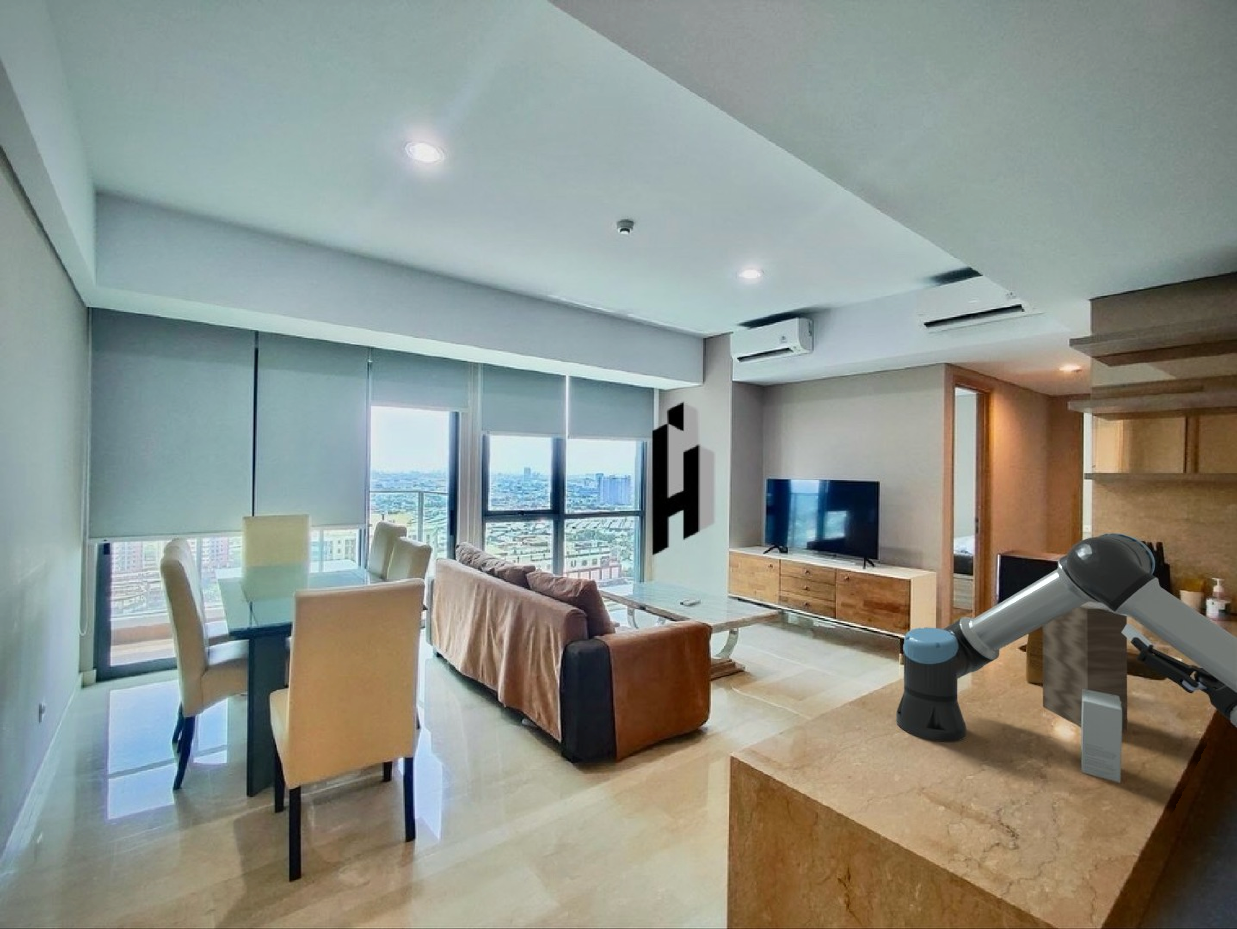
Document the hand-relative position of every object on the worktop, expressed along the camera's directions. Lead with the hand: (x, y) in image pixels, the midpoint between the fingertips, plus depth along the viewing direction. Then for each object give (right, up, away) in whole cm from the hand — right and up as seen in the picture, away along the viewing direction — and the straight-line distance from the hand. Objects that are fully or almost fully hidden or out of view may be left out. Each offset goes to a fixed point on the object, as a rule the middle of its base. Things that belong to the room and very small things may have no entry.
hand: (1154, 627), depth 126 cm
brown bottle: (+9, -29, +43) cm, 53 cm away
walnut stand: (-1, -29, +18) cm, 34 cm away
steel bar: (-1, +1, +14) cm, 14 cm away
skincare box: (-18, -29, -7) cm, 35 cm away
